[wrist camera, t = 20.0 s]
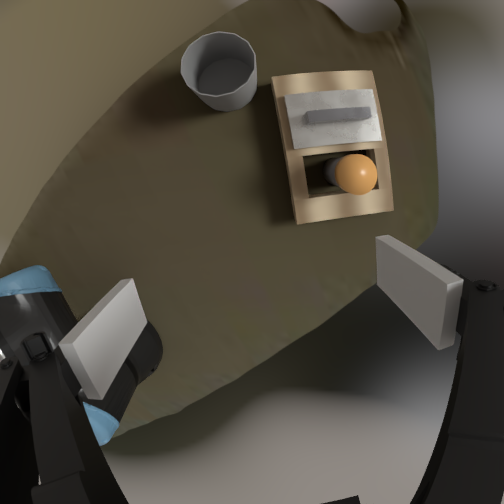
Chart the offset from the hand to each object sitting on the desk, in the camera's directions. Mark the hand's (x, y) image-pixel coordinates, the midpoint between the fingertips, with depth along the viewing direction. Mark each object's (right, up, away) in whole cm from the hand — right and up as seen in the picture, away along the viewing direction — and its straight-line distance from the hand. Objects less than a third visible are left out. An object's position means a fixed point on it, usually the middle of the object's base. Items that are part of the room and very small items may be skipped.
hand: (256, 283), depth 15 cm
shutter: (+10, +19, +19) cm, 29 cm away
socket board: (+11, +17, +24) cm, 31 cm away
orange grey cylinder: (+12, +13, +25) cm, 30 cm away
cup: (-4, +25, +22) cm, 34 cm away
